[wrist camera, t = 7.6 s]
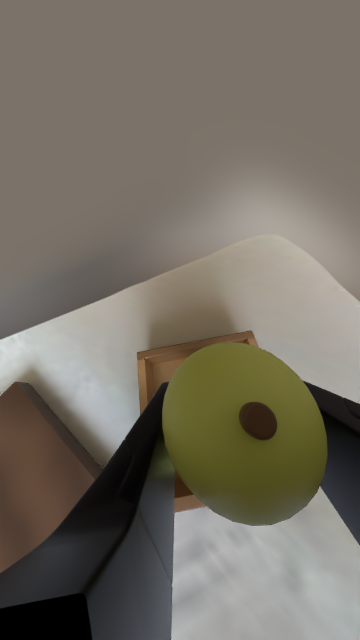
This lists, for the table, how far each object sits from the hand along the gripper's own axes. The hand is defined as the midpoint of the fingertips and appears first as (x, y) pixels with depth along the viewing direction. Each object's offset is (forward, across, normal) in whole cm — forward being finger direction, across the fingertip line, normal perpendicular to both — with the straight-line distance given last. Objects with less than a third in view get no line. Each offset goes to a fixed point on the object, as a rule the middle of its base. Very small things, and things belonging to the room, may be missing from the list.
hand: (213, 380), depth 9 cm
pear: (+4, 0, +6) cm, 7 cm away
